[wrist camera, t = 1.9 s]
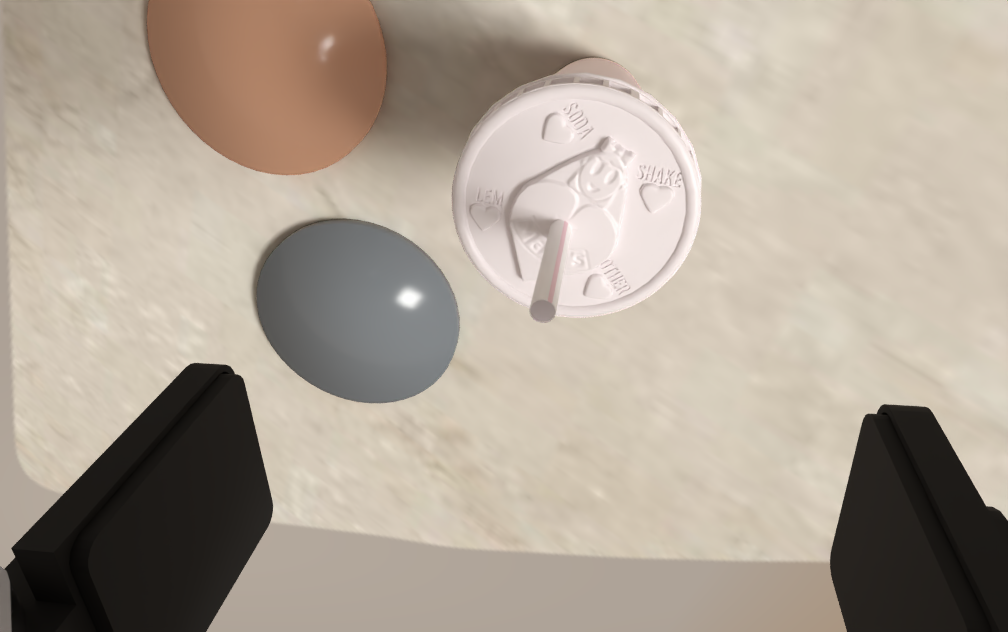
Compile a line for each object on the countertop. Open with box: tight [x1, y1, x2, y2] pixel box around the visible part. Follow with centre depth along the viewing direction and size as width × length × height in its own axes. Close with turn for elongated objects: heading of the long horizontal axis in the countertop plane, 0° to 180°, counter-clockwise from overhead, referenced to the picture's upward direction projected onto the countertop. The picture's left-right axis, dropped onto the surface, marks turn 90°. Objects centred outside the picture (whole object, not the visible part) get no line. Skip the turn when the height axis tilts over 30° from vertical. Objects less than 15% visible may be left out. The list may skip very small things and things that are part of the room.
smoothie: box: [452, 58, 701, 323], centre depth 21 cm, size 6×6×14 cm
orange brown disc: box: [147, 0, 387, 175], centre depth 28 cm, size 9×9×1 cm
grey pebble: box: [257, 219, 460, 403], centre depth 33 cm, size 9×9×1 cm
